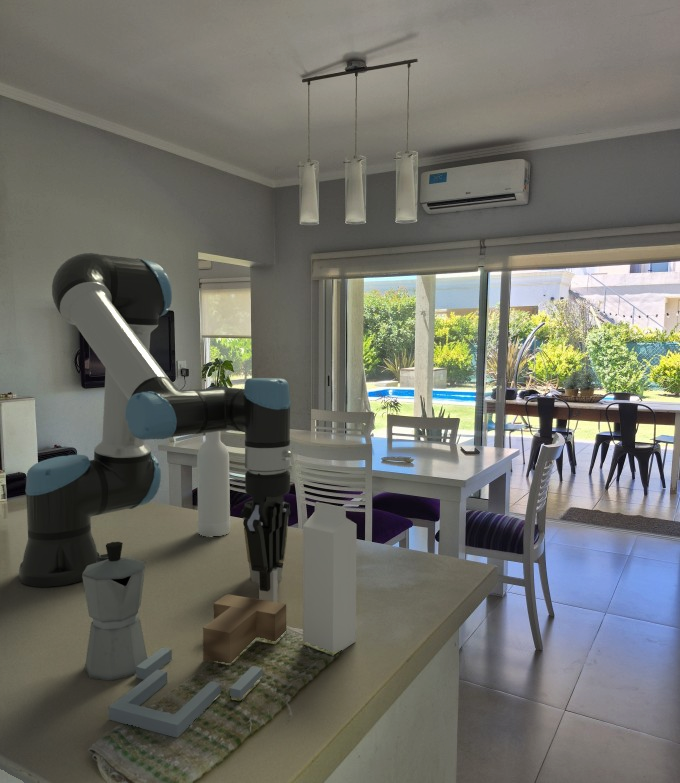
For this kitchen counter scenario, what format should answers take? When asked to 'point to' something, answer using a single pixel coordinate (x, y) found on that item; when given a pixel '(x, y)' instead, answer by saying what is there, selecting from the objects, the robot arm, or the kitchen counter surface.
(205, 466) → the bottle
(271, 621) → the t block
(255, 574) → the coffee cup
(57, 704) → the kitchen counter surface
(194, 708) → the t bay
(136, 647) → the coffee maker
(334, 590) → the milk
